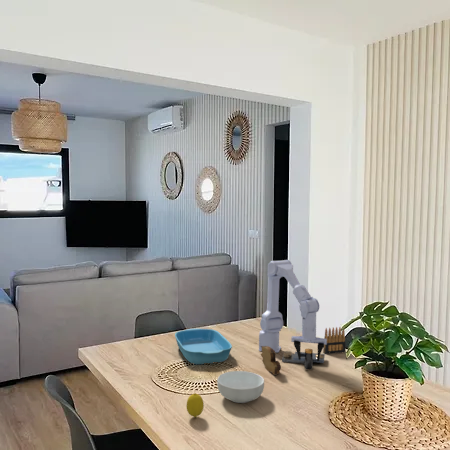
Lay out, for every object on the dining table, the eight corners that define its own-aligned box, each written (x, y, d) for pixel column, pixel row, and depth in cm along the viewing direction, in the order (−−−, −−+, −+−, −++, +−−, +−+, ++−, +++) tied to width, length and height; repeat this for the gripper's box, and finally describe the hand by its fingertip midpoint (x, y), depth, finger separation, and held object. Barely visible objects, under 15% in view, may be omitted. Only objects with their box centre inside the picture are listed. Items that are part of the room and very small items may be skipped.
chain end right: (293, 362, 196) (293, 356, 196) (295, 356, 204) (295, 350, 204) (323, 365, 193) (323, 358, 193) (324, 359, 201) (324, 352, 200)
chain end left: (281, 361, 198) (281, 354, 197) (284, 355, 205) (284, 349, 205) (311, 364, 194) (311, 357, 194) (313, 358, 202) (313, 351, 202)
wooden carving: (285, 377, 180) (285, 352, 179) (274, 378, 178) (275, 354, 178) (266, 363, 195) (266, 340, 195) (257, 364, 194) (257, 342, 193)
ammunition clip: (343, 350, 212) (344, 325, 212) (345, 352, 211) (346, 326, 210) (323, 352, 210) (323, 327, 209) (325, 354, 208) (325, 328, 207)
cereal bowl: (249, 413, 149) (249, 392, 148) (207, 401, 158) (208, 381, 157) (272, 395, 163) (272, 376, 163) (232, 385, 172) (233, 367, 172)
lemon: (186, 413, 148) (186, 390, 148) (203, 413, 149) (203, 389, 148) (186, 421, 143) (186, 397, 142) (203, 421, 143) (203, 396, 143)
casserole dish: (238, 365, 194) (238, 348, 194) (187, 370, 187) (187, 353, 187) (214, 340, 229) (214, 326, 229) (170, 344, 222) (170, 329, 222)
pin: (304, 369, 189) (304, 350, 188) (305, 366, 192) (305, 348, 191) (312, 370, 188) (312, 351, 187) (312, 367, 191) (312, 348, 190)
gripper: (290, 329, 187) (290, 361, 187) (326, 331, 183) (326, 364, 184) (292, 324, 194) (292, 355, 194) (327, 327, 190) (326, 358, 190)
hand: (308, 359), depth 189 cm, fingers open, 7 cm apart
